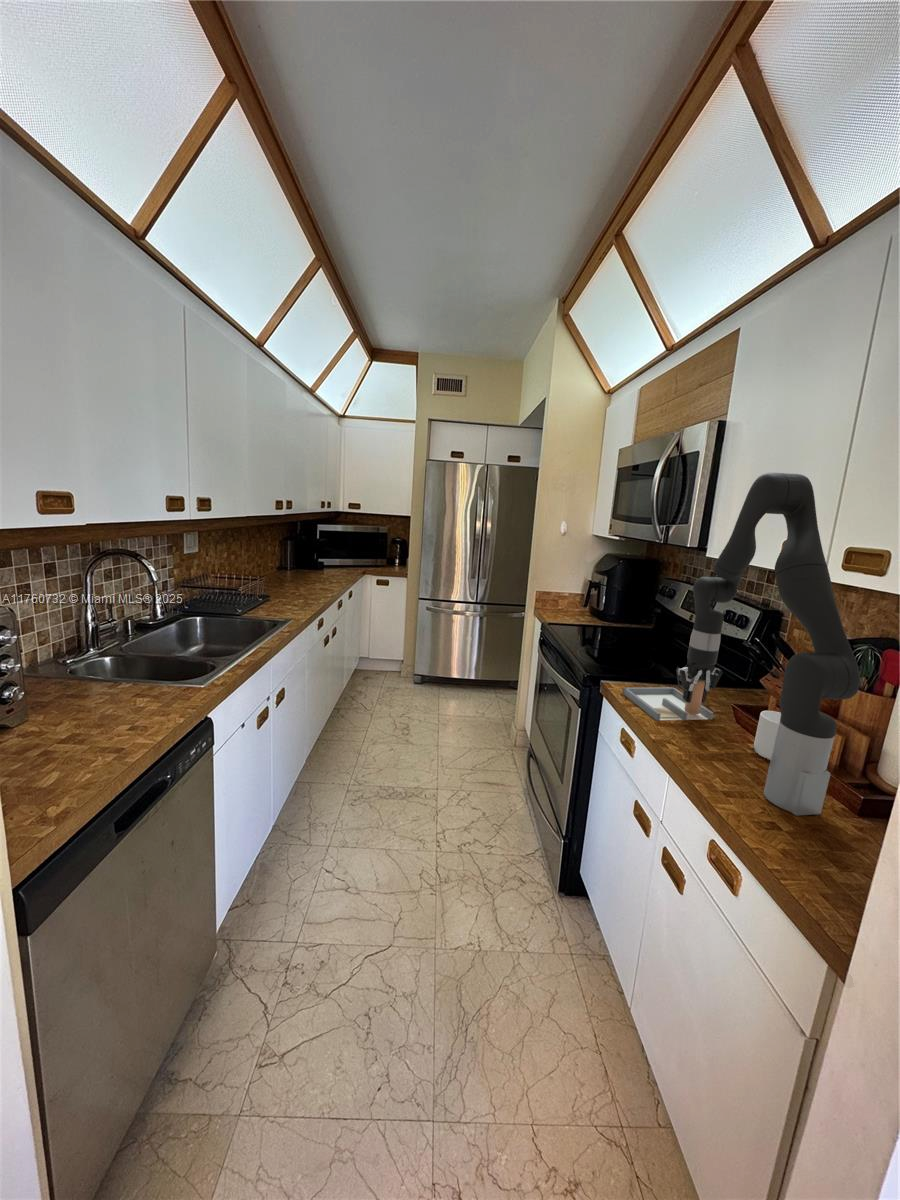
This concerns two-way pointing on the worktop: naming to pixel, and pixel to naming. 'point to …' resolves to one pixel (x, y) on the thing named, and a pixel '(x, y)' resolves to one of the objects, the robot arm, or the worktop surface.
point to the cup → (766, 733)
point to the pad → (666, 713)
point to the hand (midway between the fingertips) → (693, 701)
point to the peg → (695, 698)
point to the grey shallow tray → (664, 702)
